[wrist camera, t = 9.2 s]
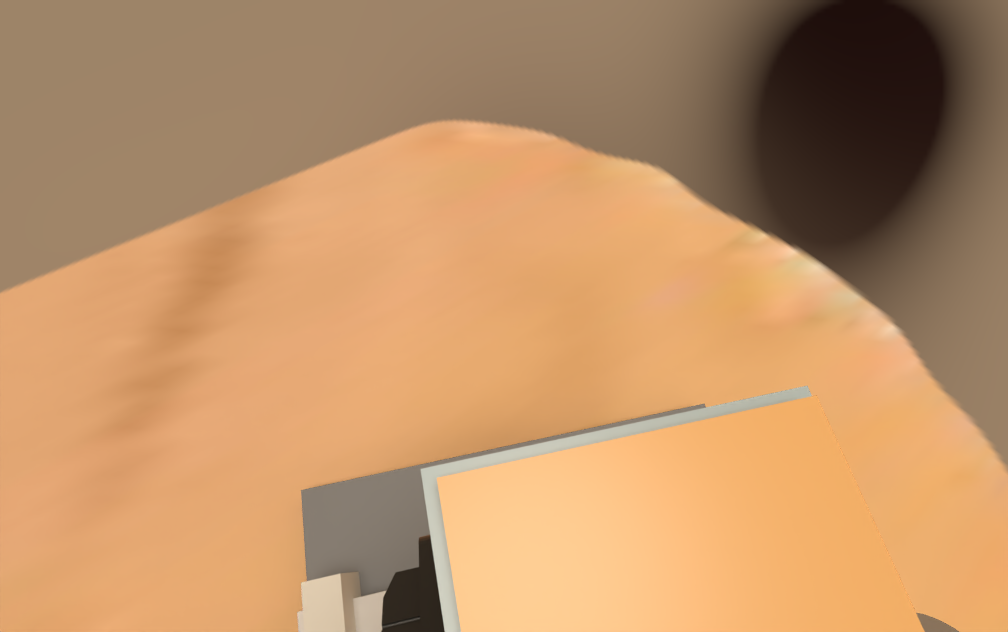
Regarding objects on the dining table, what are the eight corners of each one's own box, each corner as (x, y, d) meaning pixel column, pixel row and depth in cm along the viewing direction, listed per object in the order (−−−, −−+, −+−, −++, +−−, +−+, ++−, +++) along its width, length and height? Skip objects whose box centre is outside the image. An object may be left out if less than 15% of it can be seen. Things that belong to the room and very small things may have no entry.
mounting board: (334, 827, 22) (295, 893, 18) (310, 493, 27) (276, 481, 23) (797, 698, 24) (864, 729, 20) (694, 410, 29) (729, 385, 25)
